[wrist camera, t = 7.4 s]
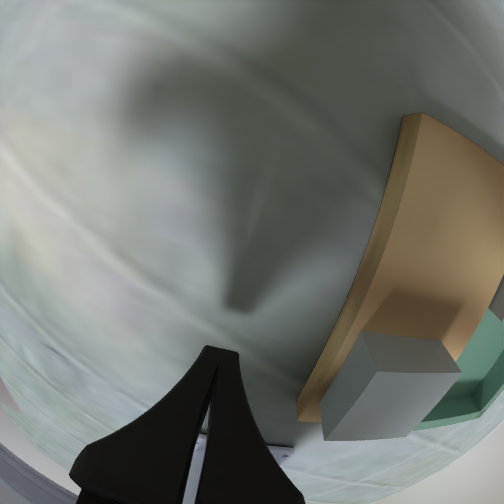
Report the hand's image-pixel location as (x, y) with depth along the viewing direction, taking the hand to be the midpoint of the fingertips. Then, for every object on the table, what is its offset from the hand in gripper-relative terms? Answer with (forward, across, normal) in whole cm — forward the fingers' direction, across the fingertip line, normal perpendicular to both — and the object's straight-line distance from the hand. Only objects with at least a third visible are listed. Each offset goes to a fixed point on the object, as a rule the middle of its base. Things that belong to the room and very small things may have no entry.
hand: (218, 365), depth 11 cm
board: (+2, -9, -4) cm, 10 cm away
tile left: (+1, -8, 0) cm, 8 cm away
